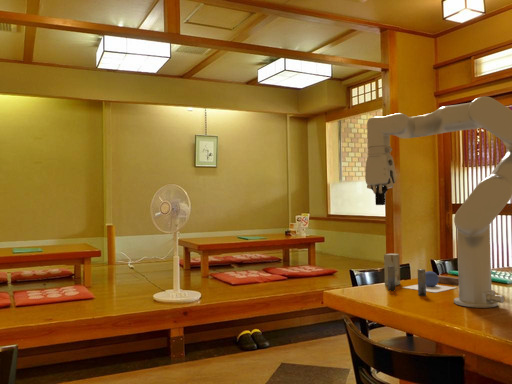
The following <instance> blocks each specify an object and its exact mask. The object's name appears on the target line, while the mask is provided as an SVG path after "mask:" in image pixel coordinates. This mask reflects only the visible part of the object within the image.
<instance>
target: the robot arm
mask: <svg viewBox="0 0 512 384" xmlns="http://www.w3.org/2000/svg"><path fill="white" fill-rule="evenodd" d="M476 129H477V130H478V129H484V130H486V131H487V132H489V133H491V134H492V135H494V136H495V137H496V138H498V139H499V140H501V141H502V144H503V145H504V146H505V147H506V148H505V149H506V152H505V154H504V156H503V157H502V158H501V160H500V161H499V162H498V164H497V165H496V166H495V168H494V169H493V170H492V172H491V173H490V174H488V176H487V177H485V178H483V179H482V180H481V181H480V182H479V183H478V184H477V185H476V186H475V188H474V189H473V190H472V191H471V192H470V194H469V195H468V197H467V198H466V199H465V201H463V203H462V204H461V206H459V208H458V209H457V210H456V212H455V213H454V217H453V221H454V226H455V228H456V231H457V232H456V233H457V234H456V235H457V237H456V239H457V240H456V241H457V242H456V243H457V246H456V247H457V248H456V249H457V269H458V270H457V273H458V276H457V278H458V280H459V285H458V296H457V297H455V298H453V303H454V304H456V305H457V306H462V307H467V308H477V309H479V308H481V309H482V308H483V309H488V308H496V307H498V305H499V304H498V303H500V304H503V303H504V302H505V297H504V295H500V294H498V295H497V294H496V290H494V289H492V288H493V287H492V265H491V264H492V263H491V258H492V257H491V254H492V253H491V233H490V232H491V223H492V222H493V221H494V220H495V218H497V216H498V215H499V214H500V213H501V212H502V210H503V209H504V208H505V207H506V205H507V204H508V203H509V202H510V200H511V198H512V109H511V108H509V107H507V106H506V105H504V104H503V103H501V102H499V101H498V100H496V99H495V98H493V97H490V96H480V97H477V98H475V99H474V100H472V101H471V102H467V103H466V102H465V103H460V104H453V105H445V106H441V107H439V108H438V109H436V110H435V111H433V112H431V113H426V114H423V115H417V116H408V115H407V114H404V113H401V112H398V113H394V114H389V115H386V116H372V117H370V118H368V119H367V123H366V131H367V132H366V135H367V137H366V138H367V157H366V161H365V172H364V173H365V175H364V177H365V183H366V188H367V189H370V190H372V191H373V194H374V195H375V197H374V199H375V201H374V202H375V205H376V206H386V194H387V192H388V190H389V189H392V188H394V186H395V185H394V184H395V183H396V181H397V178H396V177H397V176H396V168H395V162H394V157H393V155H391V152H392V151H393V148H392V147H391V142H390V141H391V139H390V138H391V137H390V136H396V137H397V138H400V139H412V138H421V137H427V136H433V135H441V134H444V133H446V134H447V133H452V132H460V131H467V130H476Z"/></svg>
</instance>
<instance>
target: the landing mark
mask: <svg viewBox="0 0 512 384" xmlns="http://www.w3.org/2000/svg"><path fill="white" fill-rule="evenodd" d="M402 288H403V289H407V290H415V291H418V283H417V284H413V285H408V286H403V287H402ZM456 289H457V287H454V286H448V285H443V284H442V285H439V284H437V285H436V286H434V287H428V286H426V293H433V294H437V293H442V292H447V291H449V290H450V291H451V290H456Z"/></svg>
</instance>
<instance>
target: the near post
mask: <svg viewBox="0 0 512 384" xmlns="http://www.w3.org/2000/svg"><path fill="white" fill-rule="evenodd" d="M425 272H426V269H424V268H418V269H417V284H418V290H417V294H418V295H417V296H419V297H425V296H427V292H426V274H425Z"/></svg>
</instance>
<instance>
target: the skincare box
mask: <svg viewBox="0 0 512 384" xmlns="http://www.w3.org/2000/svg"><path fill="white" fill-rule="evenodd" d="M400 257H401V256H400V253H385V254H383V266H384V268H383V270H384V286H388V267H387V266H395V287H396V286H398V285H400V284H401V267H400V266H401V263H400V259H401V258H400Z"/></svg>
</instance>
